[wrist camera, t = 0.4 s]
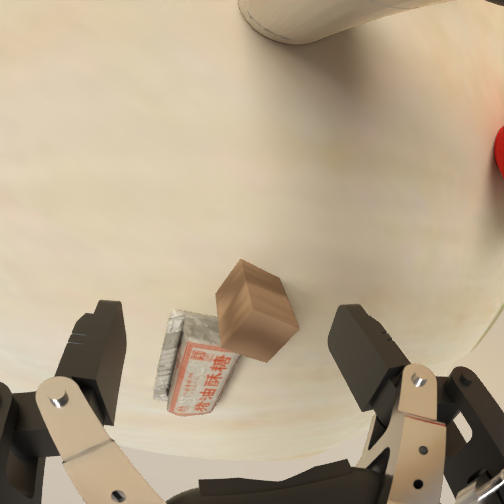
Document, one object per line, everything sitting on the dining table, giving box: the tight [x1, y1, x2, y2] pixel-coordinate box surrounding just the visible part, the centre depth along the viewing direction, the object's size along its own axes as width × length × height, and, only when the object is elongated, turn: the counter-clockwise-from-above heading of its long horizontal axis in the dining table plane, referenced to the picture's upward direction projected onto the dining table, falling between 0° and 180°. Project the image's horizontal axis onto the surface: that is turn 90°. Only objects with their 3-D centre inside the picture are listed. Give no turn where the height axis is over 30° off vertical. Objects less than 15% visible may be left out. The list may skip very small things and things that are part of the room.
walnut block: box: [216, 259, 300, 363], centre depth 29 cm, size 5×5×8 cm
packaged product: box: [153, 309, 241, 416], centre depth 36 cm, size 18×5×10 cm
